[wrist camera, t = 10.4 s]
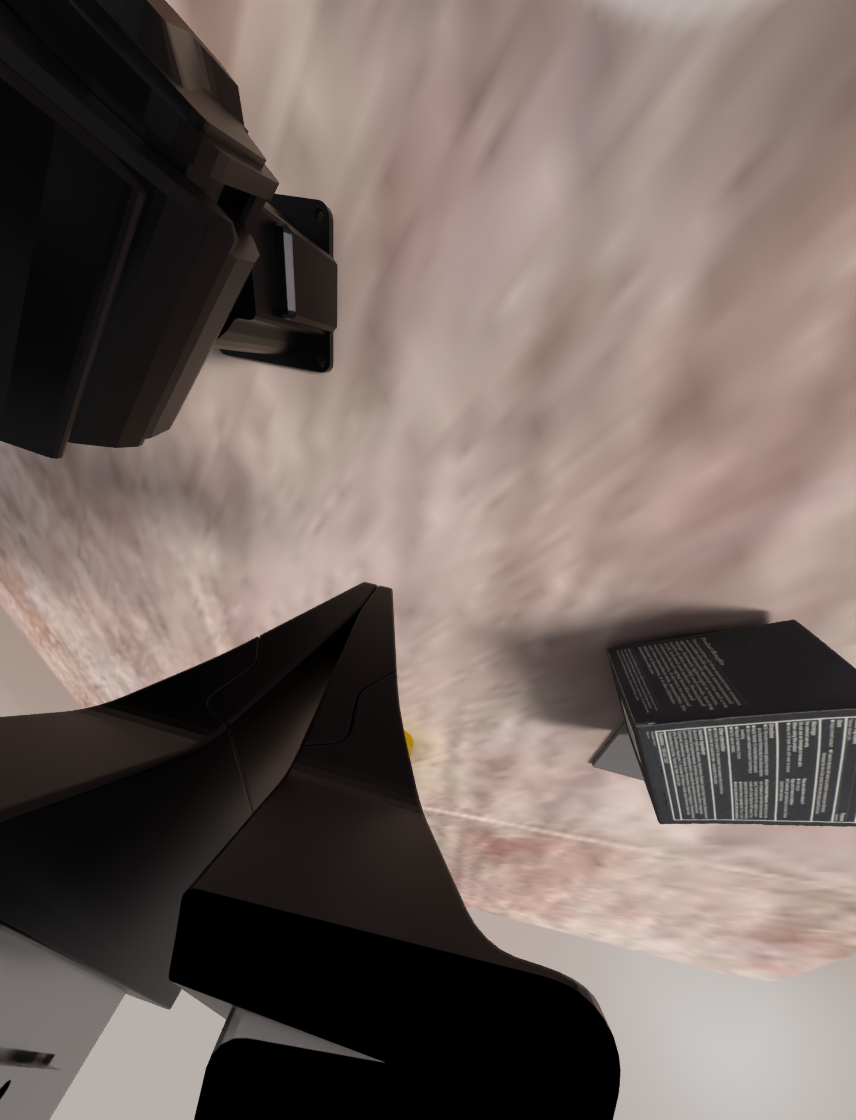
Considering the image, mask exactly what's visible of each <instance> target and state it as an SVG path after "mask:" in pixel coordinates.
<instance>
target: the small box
mask: <svg viewBox="0 0 856 1120" xmlns="http://www.w3.org/2000/svg"><path fill="white" fill-rule="evenodd" d="M606 651H607V655H608V658H609V662H610V666H611V670H612V673H613V677H614V681H615V685H616V688H617V692H618V696H619V700H620V703H621V707H622V711H623V715H624V719H625V723H626V727H627V731H628V734H629V738H630V741H631V744H632V747H633V750H634V752H635V755H636V758H637V761H638V764H639V767H640V770H641V772H642V775H643V778H644V781H645V784H646V787H647V790H648V793H649V795H650V798H651V801H652V804H653V807H654V810H655V813H656V816H657V819H658V822H659V823H660V824H692V823H697V824H707V823H718V824H763V825H796V826H798V825H804V826H843V827H844V826H856V668H854V667H853V666H852V665H851V664H849V663H848V662H847V661H846V660H844V659H843V658H842V657H841V656H840V655H838V654H837V653H836V652H835V651H833V650H832V649H831V648H829V647H828V646H827V645H826V644H825V643H824V642H822V641H821V640H820V639H819V638H818V637H816V636H815V635H814V634H812V633H811V632H810V631H809V630H808V629H806V628H805V627H804V626H802V625H801V624H800V623H798V622H797V621H796V620H789V621H782V622H777V623H771V624H764V625H757V626H751V627H744V628H738V629H732V630H725V631H719V632H713V633H706V634H699V635H693V636H686V637H680V638H673V639H666V640H660V641H653V642H646V643H639V644H632V645H626V646H619V647H612V648H607V649H606Z"/></svg>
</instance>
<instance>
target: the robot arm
mask: <svg viewBox="0 0 856 1120" xmlns="http://www.w3.org/2000/svg"><path fill="white" fill-rule="evenodd" d="M265 162H266V159H265V157H264V156H263V154H262V153H261V152H260V150H259V149H258V148H257V146H256V145H255V143H254V142H253V141H252V139H251V138H250V137H249V135H248V130H247V129H246V128H245V126H244V122H243V115H242V109H241V103H240V96H239V90H238V86H237V84H236V83H235V82H234V80H233V79H232V78H231V77H230V75H229V74H228V73H227V71H226V70H225V69H224V67H223V66H222V65H221V63H220V62H219V61H218V60H217V59H216V57H215V56H214V55H213V54H212V53H211V52H210V51H209V49H208V48H207V47H206V46H205V45H204V44H203V42H202V41H201V40H200V39H199V38H198V37H197V36H196V34H195V33H194V32H193V31H192V30H191V29H190V28H189V26H188V25H187V24H186V23H185V22H184V21H183V20H182V18H181V17H180V16H179V15H178V14H177V13H176V12H175V11H174V10H173V8H172V7H171V6H170V5H169V4H168V3H167V2H166V1H165V0H0V441H3V442H6V443H9V444H12V445H14V446H17V447H20V448H23V449H26V450H29V451H32V452H35V453H38V454H40V455H43V456H46V457H50V458H56V459H57V458H61V457H62V456H63V454H64V451H65V448H66V445H67V442H70V443H77V444H86V445H95V446H104V447H113V448H121V447H138V446H141V445H142V444H143V442H144V440H145V439H148V438H152V437H154V436H156V435H158V434H160V433H162V432H164V431H166V430H169V429H170V427H171V425H172V424H173V422H174V420H175V419H176V417H177V415H178V413H179V411H180V409H181V407H182V405H183V403H184V401H185V399H186V398H187V396H188V394H189V392H190V390H191V388H192V386H193V384H194V382H195V380H196V378H197V376H198V374H199V372H200V370H201V368H202V366H203V364H204V363H205V361H206V359H207V357H208V355H209V353H210V351H211V349H212V348H216V349H219V350H220V351H221V352H222V353H223V354H226V355H230V356H236V357H241V358H246V359H252V360H257V361H263V362H268V363H273V364H279V365H284V366H290V367H295V368H301V369H306V370H311V371H317V372H329V371H331V369H332V367H333V332H334V330H335V329H336V328H337V264H336V262H335V261H334V259H333V216H332V213H331V211H330V209H329V208H328V207H327V206H326V205H325V204H324V203H323V202H322V201H320V200H315V199H308V198H301V197H294V196H286V195H279V194H274V193H275V191H276V189H277V187H278V185H279V182H278V181H277V179H276V178H275V177H274V175H273V174H272V173H271V172H270V170H269V169H268V168H267V167H266V165H265ZM320 212H323V214H324V220H323V222H322V223H321V224H318V220H317V218H318V214H319V213H320ZM322 356H323V357H324V359H325V362H326V363H325V366H324V367H323V366H322V365H321V364H320V358H321V357H322ZM396 673H397V668H396V649H395V630H394V610H393V591H392V589H391V588H388V587H384V586H377V585H375V584H371V583H367V582H363V583H361V584H359V585H357V586H355V587H353V588H351V589H349V590H347V591H345V592H344V593H342V594H340V595H338V596H336V597H334V598H332V599H330V600H328V601H326V602H324V603H322V604H320V605H318V606H316V607H314V608H312V609H310V610H309V611H307V612H305V613H303V614H301V615H299V616H297V617H295V618H293V619H291V620H289V621H287V622H285V623H283V624H281V625H279V626H277V627H275V628H274V629H272V630H270V631H268V632H266V633H264V634H262V635H260V638H259V637H256V638H254V639H252V640H250V641H248V642H246V643H244V644H242V645H240V646H238V647H236V648H234V649H232V650H230V651H228V652H226V653H224V654H222V655H220V656H217V657H215V658H213V659H211V660H208V661H206V662H204V663H201V664H199V665H197V666H195V667H192V668H190V669H188V670H185V671H183V672H181V673H178V674H176V675H173V676H171V677H169V678H166V679H164V680H162V681H159V682H157V683H155V684H152V685H150V686H147V687H145V688H143V689H140V690H138V691H136V692H133V693H131V694H129V695H126V696H124V697H121V698H119V699H116V700H113V701H110V702H107V703H104V704H101V705H97V706H93V707H89V708H85V709H80V710H74V711H66V712H55V713H44V714H31V715H19V716H7V717H0V1120H50V1118H51V1116H52V1114H53V1113H54V1111H55V1109H56V1108H57V1106H58V1104H59V1103H60V1101H61V1100H62V1098H63V1096H64V1095H65V1093H66V1091H67V1090H68V1088H69V1086H70V1085H71V1083H72V1081H73V1080H74V1078H75V1076H76V1075H77V1073H78V1072H79V1070H80V1068H81V1066H82V1065H83V1063H84V1062H85V1060H86V1058H87V1056H88V1055H89V1053H90V1051H91V1050H92V1048H93V1047H94V1045H95V1043H96V1042H97V1040H98V1038H99V1037H100V1035H101V1033H102V1032H103V1030H104V1028H105V1027H106V1025H107V1023H108V1022H109V1020H110V1018H111V1017H112V1015H113V1013H114V1012H115V1010H116V1009H117V1007H118V1005H119V1004H120V1002H121V1000H122V999H123V997H124V995H125V994H128V995H131V996H133V997H136V998H139V999H141V1000H144V1001H147V1002H150V1003H152V1004H155V1005H158V1006H160V1007H163V1008H166V1009H171V1007H172V1005H173V1004H174V1002H175V1000H176V998H177V996H178V995H179V993H180V991H181V989H183V990H184V991H186V992H187V993H189V994H190V995H192V996H193V997H194V998H196V999H198V1000H199V1001H200V1002H202V1003H203V1004H205V1005H206V1006H208V1007H209V1008H210V1009H212V1010H213V1011H215V1012H216V1013H218V1014H219V1015H221V1016H222V1017H224V1018H225V1019H226V1022H225V1025H224V1027H223V1029H222V1032H221V1034H220V1036H219V1039H218V1041H217V1043H216V1046H215V1048H214V1050H213V1053H212V1055H211V1058H210V1060H209V1063H208V1065H207V1067H206V1071H205V1075H204V1079H203V1084H202V1088H201V1092H200V1097H199V1101H198V1105H197V1110H196V1114H195V1118H194V1120H613V1116H614V1112H615V1108H616V1103H617V1099H618V1094H619V1086H620V1062H619V1054H618V1051H617V1047H616V1044H615V1040H614V1037H613V1035H612V1032H611V1030H610V1028H609V1026H608V1024H607V1021H606V1019H605V1017H604V1015H603V1013H602V1010H601V1008H600V1006H599V1004H598V1002H597V1000H596V999H595V997H594V996H593V995H592V994H591V993H590V992H589V991H588V990H587V989H586V988H585V987H584V986H583V985H581V984H580V983H578V982H577V981H575V980H574V979H572V978H570V977H568V976H566V975H564V974H562V973H560V972H557V971H555V970H552V969H549V968H547V967H544V966H541V965H538V964H535V963H532V962H529V961H526V960H523V959H520V958H517V957H514V956H512V955H510V954H508V953H506V952H504V951H503V950H501V949H499V948H498V947H497V946H496V945H494V944H493V943H492V942H491V941H489V940H488V939H487V938H486V937H485V936H484V935H483V933H482V932H481V931H480V930H479V929H478V927H477V926H476V925H475V923H474V922H473V920H472V918H471V916H470V915H469V913H468V911H467V909H466V907H465V905H464V903H463V900H462V898H461V896H460V894H459V891H458V889H457V887H456V885H455V883H454V880H453V878H452V876H451V874H450V872H449V869H448V867H447V865H446V863H445V860H444V858H443V856H442V854H441V852H440V849H439V847H438V845H437V843H436V841H435V838H434V836H433V834H432V832H431V829H430V827H429V825H428V823H427V821H426V818H425V815H424V813H423V810H422V806H421V803H420V800H419V796H418V792H417V788H416V784H415V780H414V775H413V771H412V766H411V761H410V757H409V752H408V747H407V743H406V738H405V733H404V729H403V723H402V718H401V712H400V706H399V696H398V685H397V674H396Z"/></svg>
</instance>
